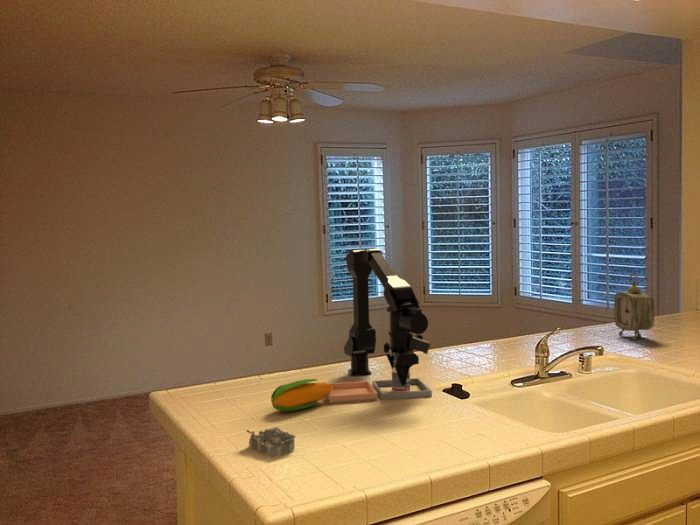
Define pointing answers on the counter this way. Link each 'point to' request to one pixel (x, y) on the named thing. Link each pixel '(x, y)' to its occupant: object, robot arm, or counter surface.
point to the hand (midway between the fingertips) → (400, 382)
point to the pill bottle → (396, 382)
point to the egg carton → (272, 441)
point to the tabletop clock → (634, 310)
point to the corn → (299, 395)
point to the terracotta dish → (352, 392)
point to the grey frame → (396, 395)
